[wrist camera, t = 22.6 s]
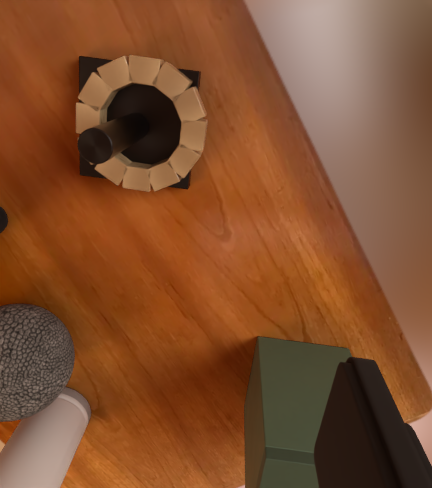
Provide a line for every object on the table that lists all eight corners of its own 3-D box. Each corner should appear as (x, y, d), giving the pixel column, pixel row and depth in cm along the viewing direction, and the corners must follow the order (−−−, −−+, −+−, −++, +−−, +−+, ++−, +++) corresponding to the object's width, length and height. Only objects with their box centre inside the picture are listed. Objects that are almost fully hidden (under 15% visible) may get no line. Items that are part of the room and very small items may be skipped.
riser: (349, 348, 40) (400, 476, 27) (328, 418, 44) (365, 561, 31) (257, 336, 40) (265, 458, 27) (244, 406, 44) (245, 545, 31)
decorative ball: (57, 270, 39) (1, 331, 30) (107, 353, 42) (70, 431, 33) (-30, 302, 41) (-109, 369, 31) (24, 379, 44) (-33, 460, 35)
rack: (200, 71, 32) (182, 69, 21) (189, 185, 35) (168, 232, 25) (84, 56, 32) (9, 47, 21) (84, 172, 35) (19, 212, 25)
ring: (214, 67, 30) (212, 66, 29) (198, 193, 34) (196, 199, 32) (84, 48, 30) (75, 46, 29) (83, 176, 34) (75, 181, 32)
